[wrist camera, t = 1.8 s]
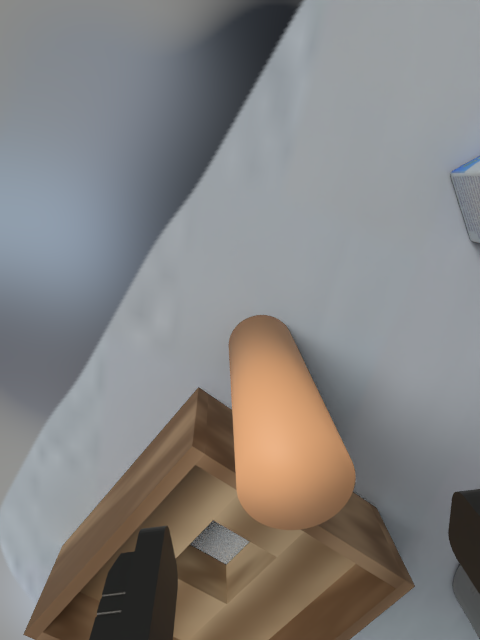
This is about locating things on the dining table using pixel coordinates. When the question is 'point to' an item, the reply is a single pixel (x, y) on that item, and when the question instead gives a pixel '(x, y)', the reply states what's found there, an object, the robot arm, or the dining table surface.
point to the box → (244, 569)
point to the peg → (283, 432)
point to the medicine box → (469, 195)
